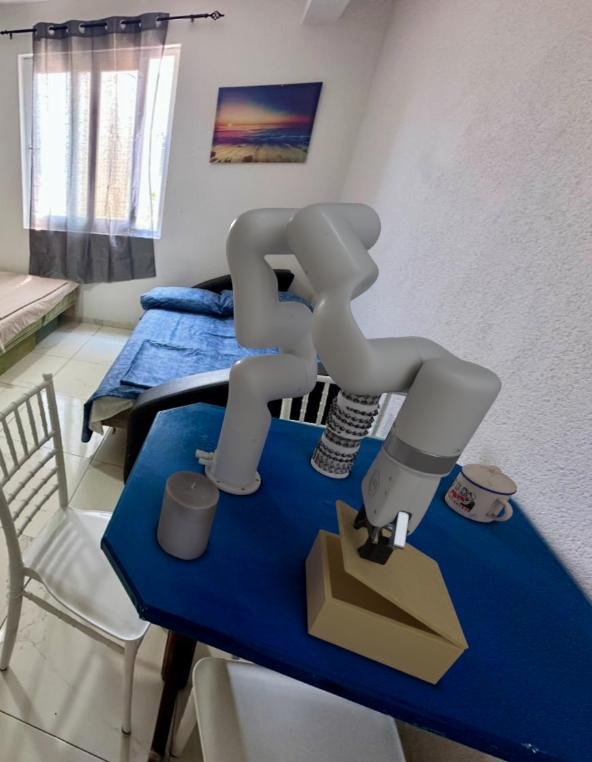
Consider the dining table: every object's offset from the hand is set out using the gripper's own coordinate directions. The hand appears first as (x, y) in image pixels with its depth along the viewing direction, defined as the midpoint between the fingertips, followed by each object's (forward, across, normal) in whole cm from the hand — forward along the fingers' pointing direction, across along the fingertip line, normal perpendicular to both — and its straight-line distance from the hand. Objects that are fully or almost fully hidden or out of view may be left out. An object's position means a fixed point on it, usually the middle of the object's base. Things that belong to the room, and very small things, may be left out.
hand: (368, 541), depth 62 cm
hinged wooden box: (+16, 0, +4) cm, 16 cm away
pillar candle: (+16, -2, -27) cm, 31 cm away
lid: (+3, 0, +4) cm, 5 cm away
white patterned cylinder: (+16, -41, +2) cm, 44 cm away
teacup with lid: (+16, -38, +30) cm, 51 cm away
